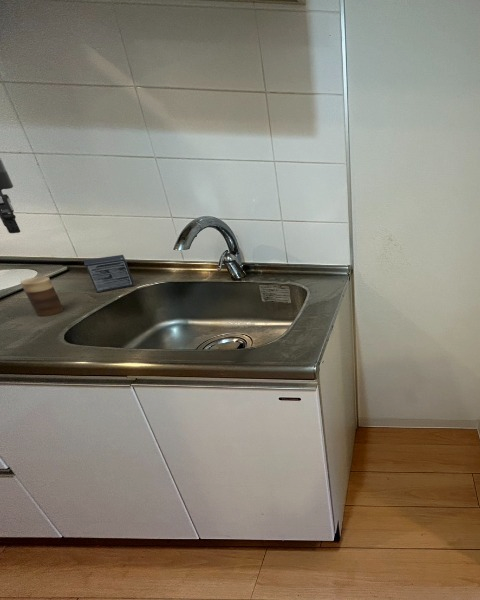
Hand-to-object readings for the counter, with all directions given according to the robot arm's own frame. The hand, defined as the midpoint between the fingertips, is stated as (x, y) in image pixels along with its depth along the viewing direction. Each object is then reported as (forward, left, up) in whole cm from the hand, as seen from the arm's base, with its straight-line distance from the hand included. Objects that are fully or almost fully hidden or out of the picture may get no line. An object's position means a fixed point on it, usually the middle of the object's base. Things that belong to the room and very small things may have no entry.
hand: (12, 229), depth 89 cm
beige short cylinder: (+7, -9, -15) cm, 19 cm away
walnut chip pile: (+7, -9, -23) cm, 25 cm away
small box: (+13, +10, -23) cm, 28 cm away
